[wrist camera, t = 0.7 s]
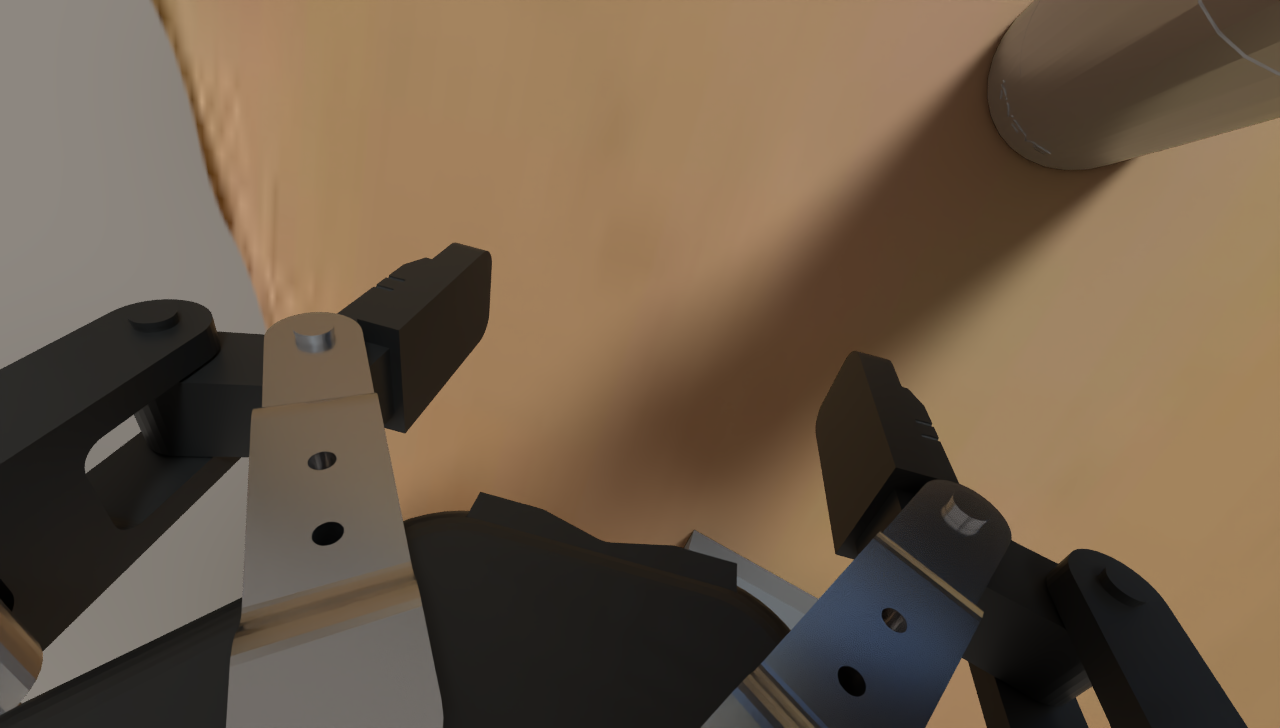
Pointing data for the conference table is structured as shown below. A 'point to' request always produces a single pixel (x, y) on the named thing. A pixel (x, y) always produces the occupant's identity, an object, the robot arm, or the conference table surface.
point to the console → (759, 581)
